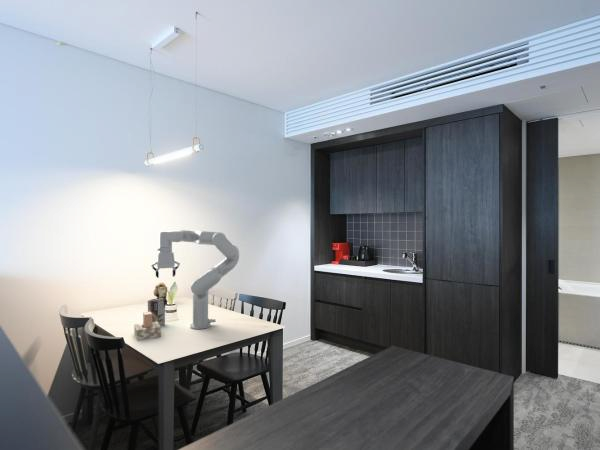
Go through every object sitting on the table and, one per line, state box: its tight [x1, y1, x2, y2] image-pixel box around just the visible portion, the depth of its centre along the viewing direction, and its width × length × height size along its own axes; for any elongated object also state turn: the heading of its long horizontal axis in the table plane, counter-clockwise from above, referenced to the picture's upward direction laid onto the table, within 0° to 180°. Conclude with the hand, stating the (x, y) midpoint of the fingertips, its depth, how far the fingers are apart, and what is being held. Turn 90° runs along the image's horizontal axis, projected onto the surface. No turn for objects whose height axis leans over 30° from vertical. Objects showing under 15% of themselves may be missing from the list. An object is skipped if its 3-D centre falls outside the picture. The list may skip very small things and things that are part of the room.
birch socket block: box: [133, 322, 162, 341], centre depth 217 cm, size 13×13×6 cm
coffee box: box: [147, 298, 166, 327], centre depth 238 cm, size 9×6×16 cm
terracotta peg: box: [142, 311, 152, 328], centre depth 217 cm, size 6×4×12 cm
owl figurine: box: [153, 282, 168, 306], centre depth 298 cm, size 18×12×17 cm, turn 45°
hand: (165, 277), depth 231 cm, fingers open, 9 cm apart
